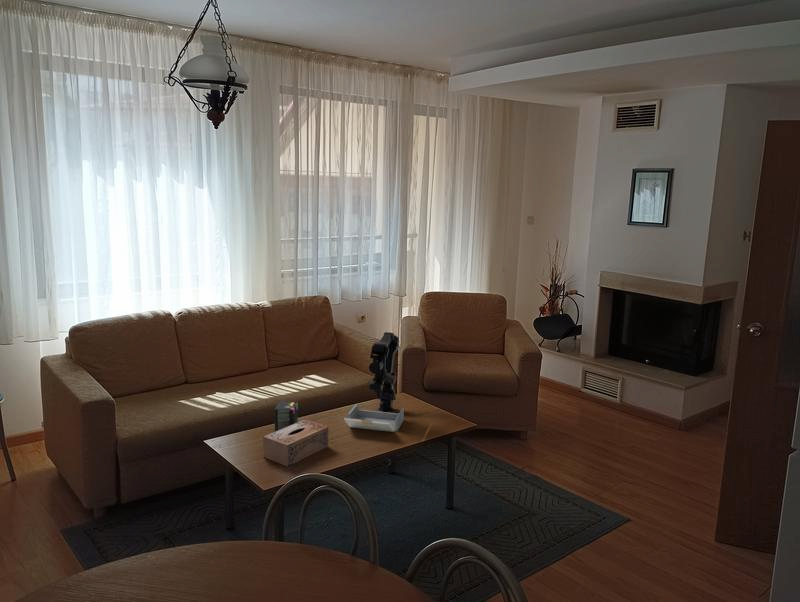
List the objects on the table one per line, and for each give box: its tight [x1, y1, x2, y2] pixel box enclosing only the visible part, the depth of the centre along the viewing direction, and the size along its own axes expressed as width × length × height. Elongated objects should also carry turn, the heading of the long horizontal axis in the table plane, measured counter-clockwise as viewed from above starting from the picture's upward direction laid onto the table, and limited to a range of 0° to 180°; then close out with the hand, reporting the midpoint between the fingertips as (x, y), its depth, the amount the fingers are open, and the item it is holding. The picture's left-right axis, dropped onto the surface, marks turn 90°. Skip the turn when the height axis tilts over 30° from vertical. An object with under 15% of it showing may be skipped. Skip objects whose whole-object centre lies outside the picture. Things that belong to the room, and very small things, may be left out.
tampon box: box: [273, 401, 299, 432], centre depth 298 cm, size 11×9×15 cm
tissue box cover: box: [262, 419, 329, 467], centre depth 279 cm, size 26×14×10 cm, turn 145°
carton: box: [347, 403, 405, 432], centre depth 313 cm, size 15×25×7 cm, turn 78°
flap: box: [343, 417, 394, 433], centre depth 301 cm, size 1×22×13 cm
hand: (379, 397), depth 317 cm, fingers closed
